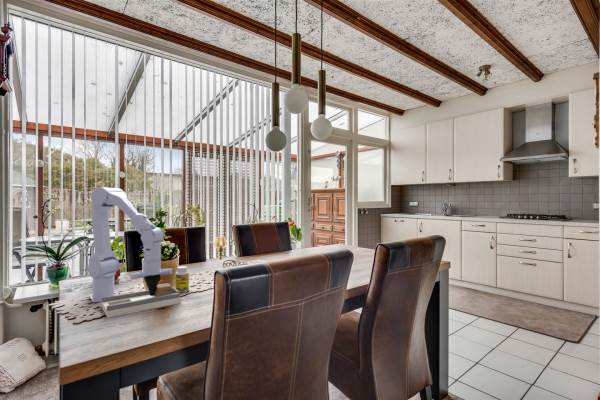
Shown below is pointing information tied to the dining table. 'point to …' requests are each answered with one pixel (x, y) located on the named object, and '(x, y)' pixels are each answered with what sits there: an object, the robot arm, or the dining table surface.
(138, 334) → the dining table surface
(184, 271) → the supplement bottle
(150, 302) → the deck
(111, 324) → the dining table surface
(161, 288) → the block
